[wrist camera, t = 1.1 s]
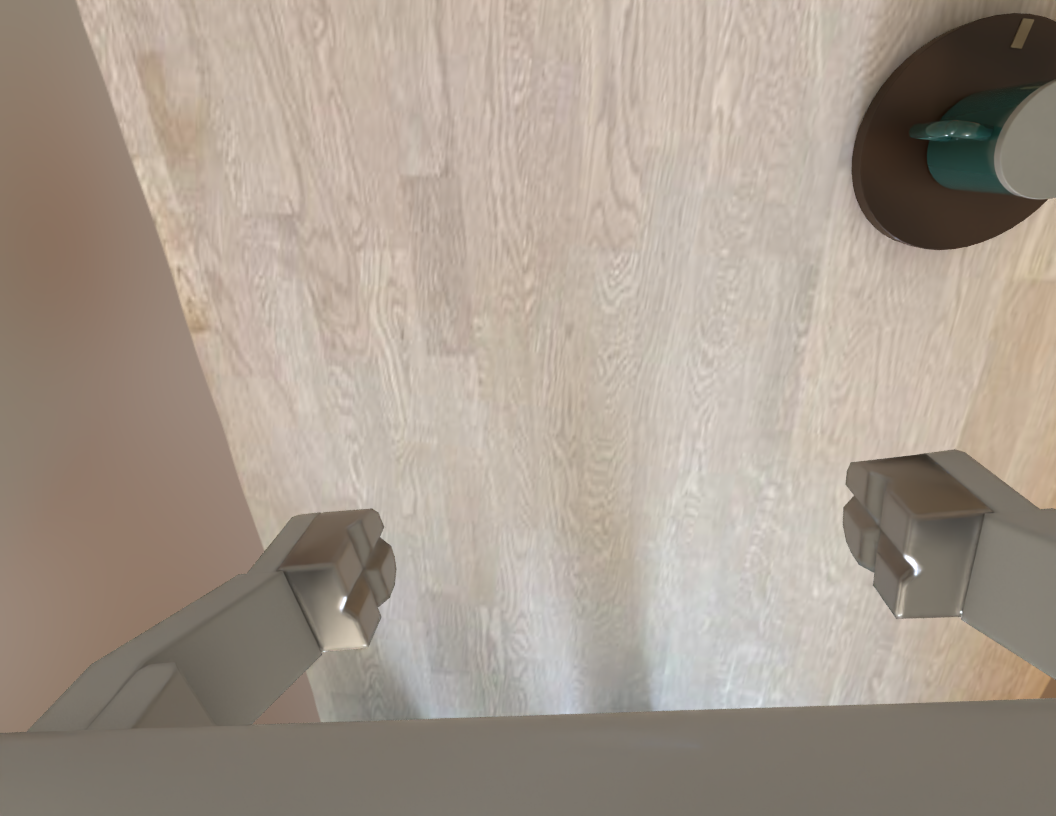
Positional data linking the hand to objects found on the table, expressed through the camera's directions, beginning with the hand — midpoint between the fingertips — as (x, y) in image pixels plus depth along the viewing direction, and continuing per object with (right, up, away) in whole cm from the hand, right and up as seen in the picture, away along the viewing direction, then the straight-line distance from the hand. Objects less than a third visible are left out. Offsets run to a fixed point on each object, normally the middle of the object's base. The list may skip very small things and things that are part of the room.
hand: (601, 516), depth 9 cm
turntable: (+31, +22, +30) cm, 48 cm away
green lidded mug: (+29, +21, +28) cm, 46 cm away
